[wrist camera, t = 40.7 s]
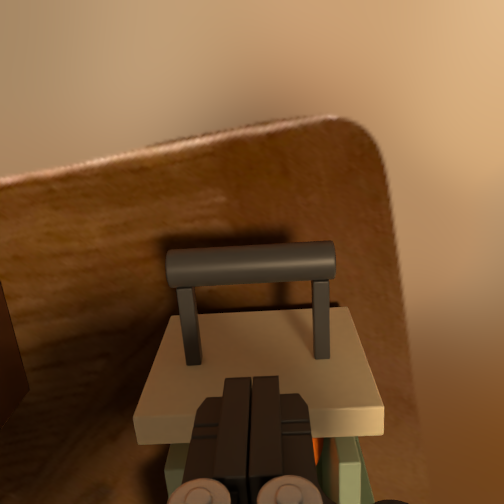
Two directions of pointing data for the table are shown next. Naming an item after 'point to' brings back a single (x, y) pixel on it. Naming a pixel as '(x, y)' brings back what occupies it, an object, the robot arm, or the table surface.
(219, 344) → the drawer
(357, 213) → the table surface
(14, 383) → the stand
